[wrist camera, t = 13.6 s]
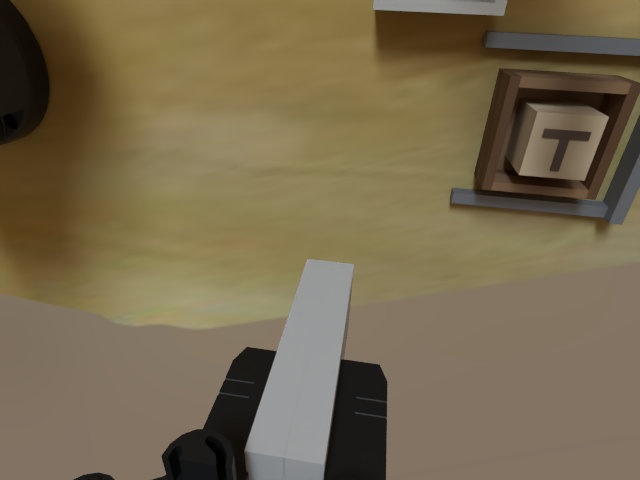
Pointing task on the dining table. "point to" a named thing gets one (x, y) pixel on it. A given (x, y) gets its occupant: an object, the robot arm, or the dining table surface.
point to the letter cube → (554, 138)
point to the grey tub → (444, 6)
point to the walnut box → (592, 89)
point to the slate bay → (636, 161)
